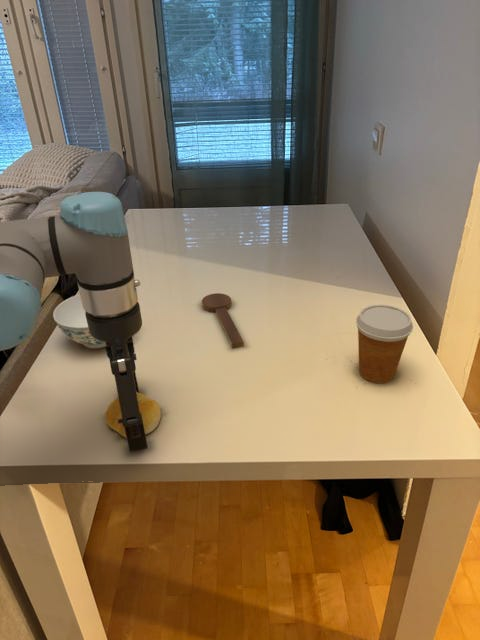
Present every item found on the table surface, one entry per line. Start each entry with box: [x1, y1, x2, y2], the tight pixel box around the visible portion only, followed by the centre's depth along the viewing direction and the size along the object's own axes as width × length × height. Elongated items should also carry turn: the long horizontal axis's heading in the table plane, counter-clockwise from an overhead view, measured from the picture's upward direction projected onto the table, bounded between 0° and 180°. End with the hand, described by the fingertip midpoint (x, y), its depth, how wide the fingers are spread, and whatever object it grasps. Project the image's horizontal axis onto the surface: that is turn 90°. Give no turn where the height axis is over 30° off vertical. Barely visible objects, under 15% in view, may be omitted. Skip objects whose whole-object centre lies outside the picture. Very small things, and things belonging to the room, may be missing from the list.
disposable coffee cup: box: [355, 304, 414, 384], centre depth 83 cm, size 10×10×12 cm
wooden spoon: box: [201, 292, 244, 349], centre depth 103 cm, size 7×22×1 cm, turn 16°
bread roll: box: [104, 392, 162, 438], centre depth 76 cm, size 8×9×4 cm
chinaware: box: [52, 293, 106, 349], centre depth 96 cm, size 15×15×8 cm
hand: (134, 419), depth 77 cm, fingers open, 12 cm apart
